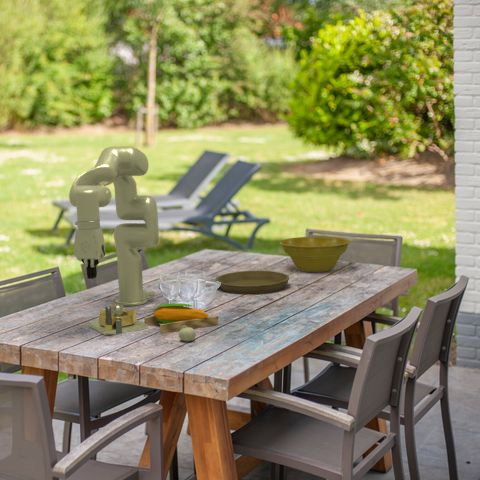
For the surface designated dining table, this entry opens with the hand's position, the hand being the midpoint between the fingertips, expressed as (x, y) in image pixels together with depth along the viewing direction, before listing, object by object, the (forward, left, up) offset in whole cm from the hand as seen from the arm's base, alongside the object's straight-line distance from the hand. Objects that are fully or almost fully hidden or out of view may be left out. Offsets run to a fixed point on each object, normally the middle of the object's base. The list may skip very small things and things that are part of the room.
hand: (92, 277), depth 331 cm
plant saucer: (-84, -36, -20) cm, 93 cm away
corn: (-30, +7, -19) cm, 36 cm away
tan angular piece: (-8, 0, -18) cm, 19 cm away
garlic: (-22, +28, -20) cm, 41 cm away
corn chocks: (-30, +7, -19) cm, 36 cm away
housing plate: (-10, -3, -19) cm, 22 cm away
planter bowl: (-127, -53, -20) cm, 139 cm away
